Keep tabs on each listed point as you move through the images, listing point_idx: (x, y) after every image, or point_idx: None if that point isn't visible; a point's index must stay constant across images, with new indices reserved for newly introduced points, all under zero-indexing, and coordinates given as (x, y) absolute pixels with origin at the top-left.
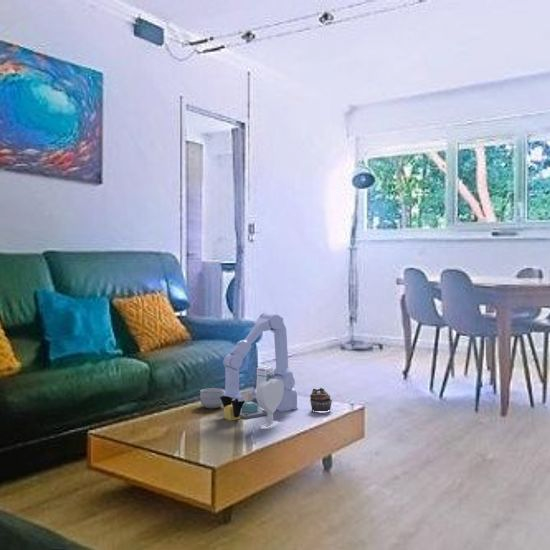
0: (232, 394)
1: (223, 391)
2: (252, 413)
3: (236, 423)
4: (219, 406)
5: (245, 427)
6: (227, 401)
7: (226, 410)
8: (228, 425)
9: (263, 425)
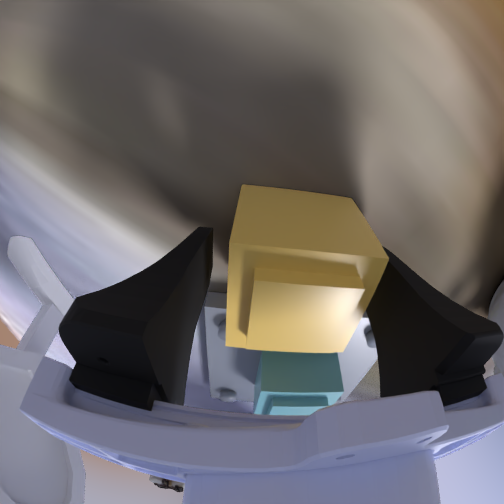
0: (193, 480)
1: (490, 427)
2: (236, 358)
3: (131, 179)
4: (489, 309)
5: (36, 182)
6: (405, 345)
7: (321, 232)
8: (114, 93)
9: (32, 270)
